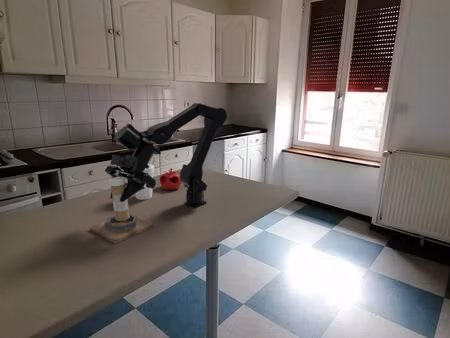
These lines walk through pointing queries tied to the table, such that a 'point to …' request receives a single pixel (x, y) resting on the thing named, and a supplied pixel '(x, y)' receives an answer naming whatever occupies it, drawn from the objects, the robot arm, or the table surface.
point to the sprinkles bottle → (117, 191)
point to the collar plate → (120, 234)
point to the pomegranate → (170, 180)
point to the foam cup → (145, 192)
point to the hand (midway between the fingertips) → (116, 200)
